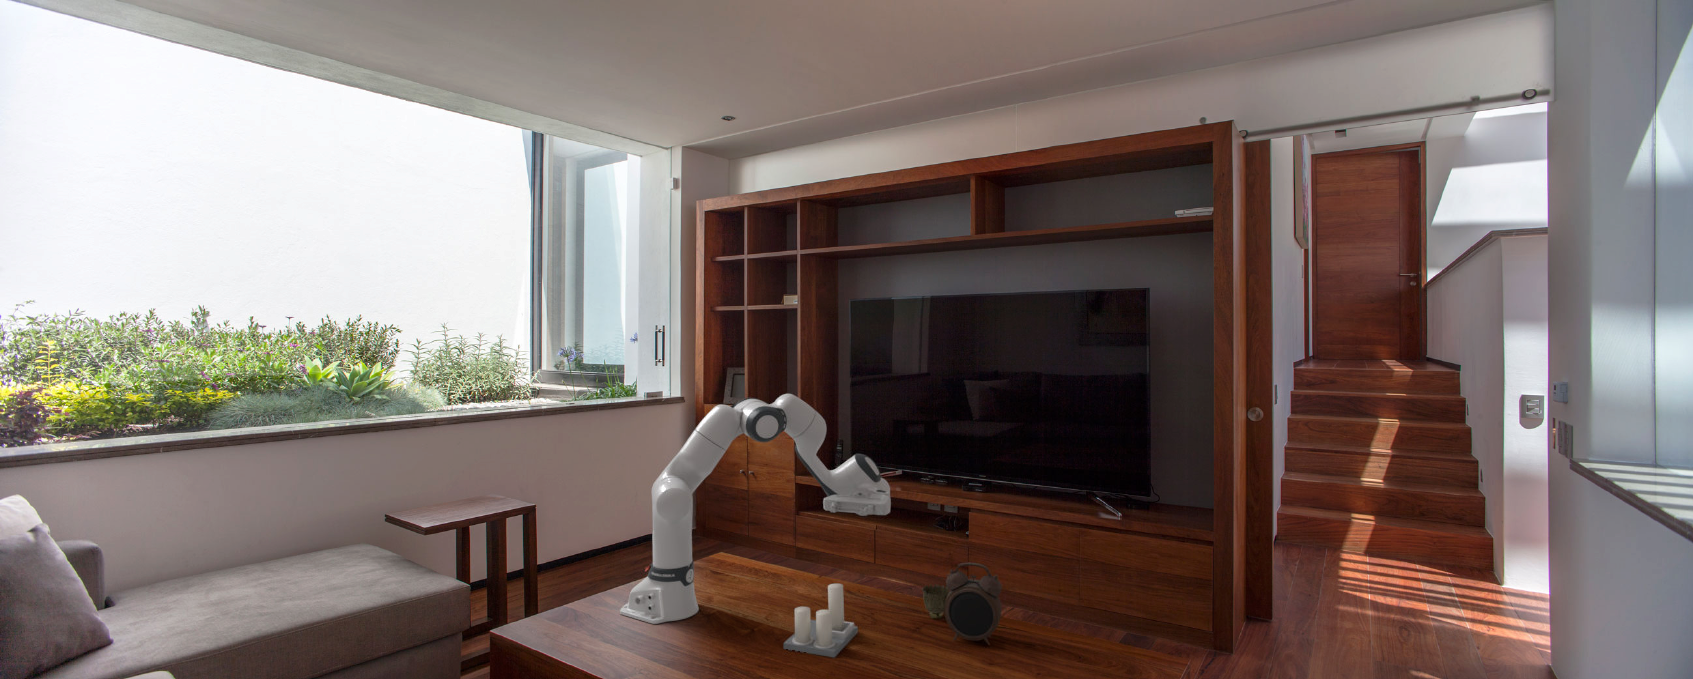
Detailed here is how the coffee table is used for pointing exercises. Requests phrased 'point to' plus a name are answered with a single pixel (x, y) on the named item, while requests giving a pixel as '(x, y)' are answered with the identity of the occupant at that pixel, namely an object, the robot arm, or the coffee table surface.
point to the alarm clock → (973, 604)
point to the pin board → (820, 651)
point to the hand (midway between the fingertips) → (847, 510)
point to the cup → (935, 600)
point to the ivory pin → (836, 606)
